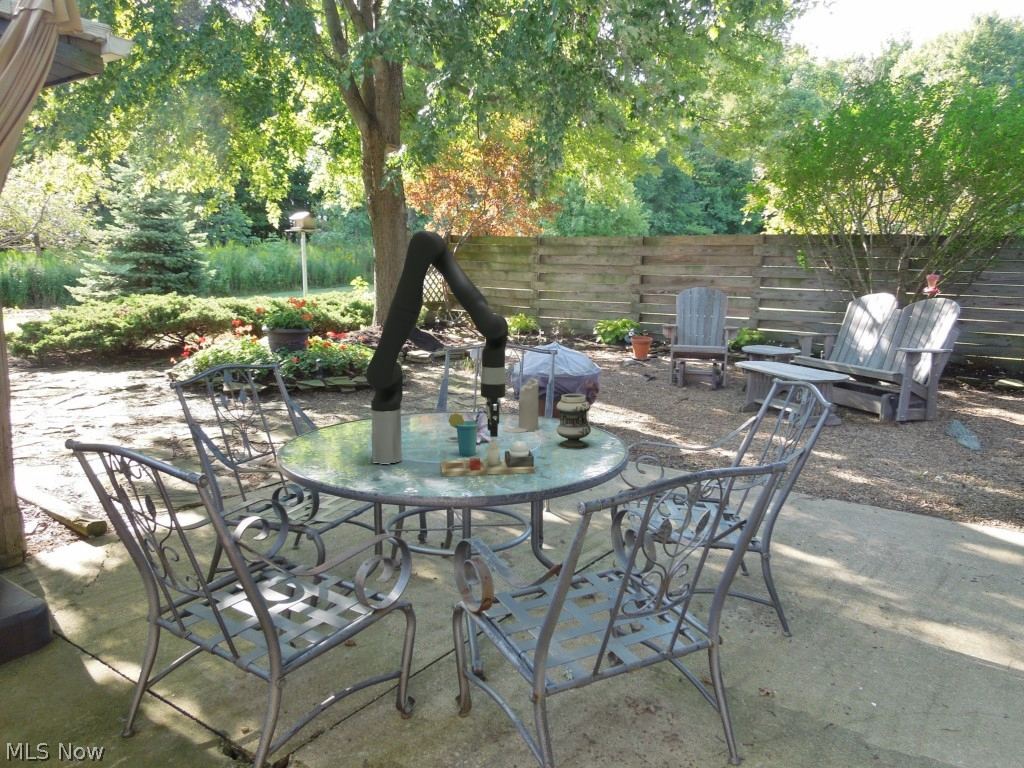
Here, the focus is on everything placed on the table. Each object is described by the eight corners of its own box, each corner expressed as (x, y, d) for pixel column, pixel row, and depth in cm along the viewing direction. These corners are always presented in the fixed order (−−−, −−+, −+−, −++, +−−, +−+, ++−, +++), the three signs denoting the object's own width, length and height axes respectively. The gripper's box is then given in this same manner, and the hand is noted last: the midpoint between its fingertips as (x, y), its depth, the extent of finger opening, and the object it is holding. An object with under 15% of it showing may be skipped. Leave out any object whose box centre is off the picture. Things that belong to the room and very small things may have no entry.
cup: (489, 450, 228) (489, 407, 225) (492, 456, 220) (491, 412, 218) (448, 452, 226) (447, 408, 223) (450, 458, 218) (449, 413, 216)
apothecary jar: (561, 440, 242) (561, 391, 239) (593, 442, 238) (594, 393, 235) (552, 448, 231) (552, 397, 228) (586, 450, 227) (586, 399, 224)
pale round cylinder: (510, 462, 203) (510, 443, 202) (508, 457, 209) (508, 439, 208) (530, 461, 204) (530, 443, 203) (527, 456, 209) (527, 438, 208)
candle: (501, 429, 259) (500, 378, 256) (534, 427, 263) (534, 377, 260) (506, 433, 253) (506, 381, 249) (540, 431, 257) (541, 379, 253)
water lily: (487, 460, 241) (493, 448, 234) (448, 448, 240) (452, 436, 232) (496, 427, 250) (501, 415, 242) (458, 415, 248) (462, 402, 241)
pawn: (487, 466, 203) (487, 441, 202) (486, 462, 207) (486, 438, 206) (500, 465, 204) (500, 440, 202) (499, 462, 207) (499, 437, 206)
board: (442, 476, 198) (441, 461, 197) (441, 465, 209) (440, 451, 209) (534, 473, 201) (534, 458, 200) (528, 462, 213) (528, 448, 212)
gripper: (508, 385, 195) (507, 438, 197) (502, 377, 209) (501, 427, 211) (482, 385, 194) (482, 439, 196) (478, 377, 208) (478, 428, 210)
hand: (492, 433), depth 204 cm, fingers open, 8 cm apart
